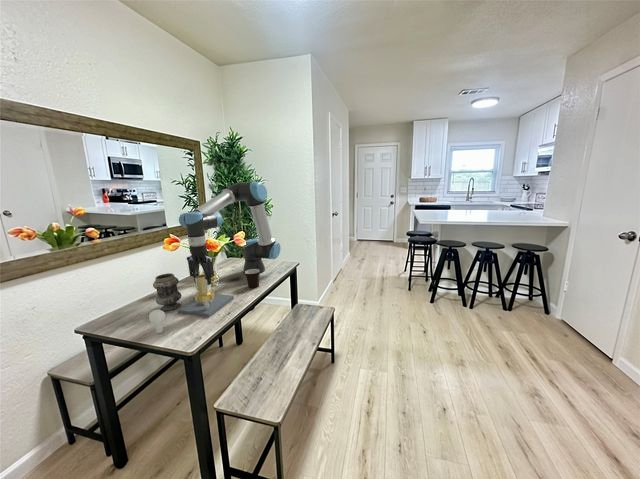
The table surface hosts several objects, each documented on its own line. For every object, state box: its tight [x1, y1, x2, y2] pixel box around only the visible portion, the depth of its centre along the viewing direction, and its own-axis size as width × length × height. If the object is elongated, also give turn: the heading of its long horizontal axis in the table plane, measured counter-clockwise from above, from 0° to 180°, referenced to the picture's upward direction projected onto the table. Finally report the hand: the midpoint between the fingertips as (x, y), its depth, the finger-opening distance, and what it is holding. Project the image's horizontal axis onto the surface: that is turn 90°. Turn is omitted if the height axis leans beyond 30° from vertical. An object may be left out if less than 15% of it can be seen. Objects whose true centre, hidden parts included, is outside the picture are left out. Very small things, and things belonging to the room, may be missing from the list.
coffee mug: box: [244, 269, 260, 290], centre depth 170 cm, size 12×9×10 cm
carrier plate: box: [176, 293, 235, 319], centre depth 145 cm, size 21×19×9 cm
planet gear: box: [194, 273, 216, 303], centre depth 135 cm, size 9×9×12 cm
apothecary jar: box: [152, 272, 182, 313], centre depth 144 cm, size 12×12×18 cm
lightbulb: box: [148, 309, 166, 334], centre depth 121 cm, size 6×6×11 cm
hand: (204, 289), depth 136 cm, fingers closed on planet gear, 5 cm apart
